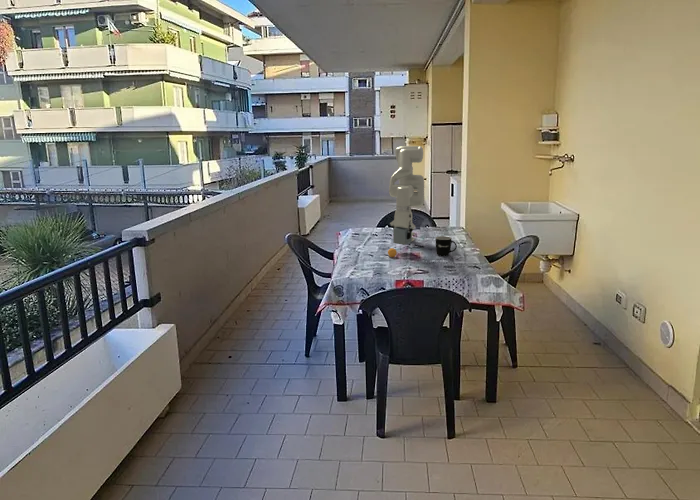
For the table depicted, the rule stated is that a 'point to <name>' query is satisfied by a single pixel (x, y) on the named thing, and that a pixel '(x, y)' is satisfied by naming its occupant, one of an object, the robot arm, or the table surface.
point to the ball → (392, 252)
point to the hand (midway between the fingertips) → (402, 237)
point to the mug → (444, 245)
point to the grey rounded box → (401, 236)
